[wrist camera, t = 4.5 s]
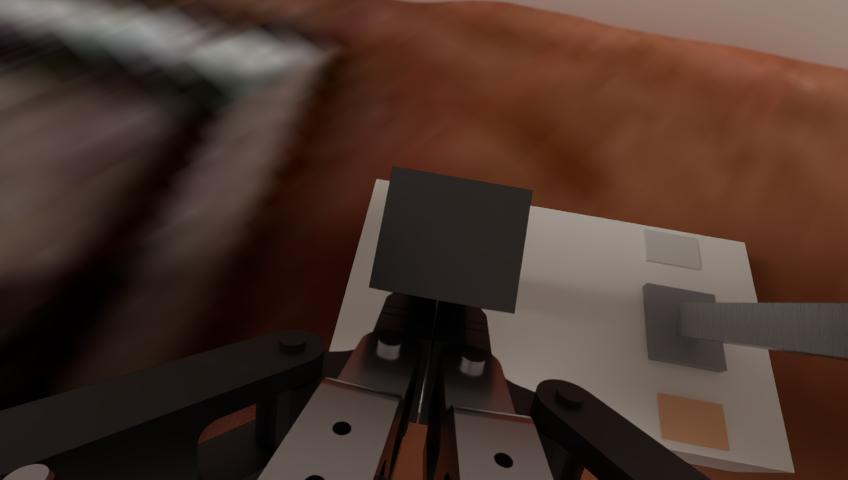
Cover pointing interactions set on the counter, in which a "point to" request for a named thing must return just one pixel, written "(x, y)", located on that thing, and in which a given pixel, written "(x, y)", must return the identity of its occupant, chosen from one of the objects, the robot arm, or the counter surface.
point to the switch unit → (621, 331)
